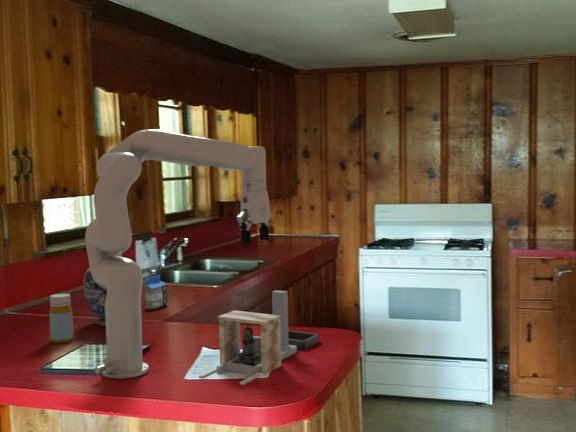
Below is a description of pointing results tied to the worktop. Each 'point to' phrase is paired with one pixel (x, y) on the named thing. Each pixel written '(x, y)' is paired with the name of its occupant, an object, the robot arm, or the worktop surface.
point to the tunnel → (269, 337)
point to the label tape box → (155, 292)
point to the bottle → (61, 318)
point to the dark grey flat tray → (302, 339)
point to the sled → (286, 350)
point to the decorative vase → (95, 297)
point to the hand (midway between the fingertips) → (255, 241)
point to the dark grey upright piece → (248, 348)
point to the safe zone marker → (240, 382)
